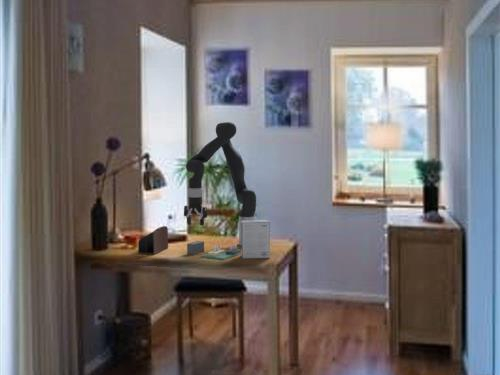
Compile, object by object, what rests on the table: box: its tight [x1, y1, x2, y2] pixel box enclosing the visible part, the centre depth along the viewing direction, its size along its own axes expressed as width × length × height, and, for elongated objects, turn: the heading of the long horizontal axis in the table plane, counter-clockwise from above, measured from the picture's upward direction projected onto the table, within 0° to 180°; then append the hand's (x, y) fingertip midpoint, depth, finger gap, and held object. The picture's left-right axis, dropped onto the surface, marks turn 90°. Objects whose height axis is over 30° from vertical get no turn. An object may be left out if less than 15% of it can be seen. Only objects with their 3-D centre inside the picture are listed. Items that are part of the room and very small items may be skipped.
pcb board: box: [201, 243, 242, 261], centre depth 367 cm, size 18×14×6 cm
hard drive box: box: [241, 219, 271, 259], centre depth 362 cm, size 16×8×20 cm, turn 92°
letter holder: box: [137, 225, 169, 256], centre depth 377 cm, size 10×20×14 cm, turn 164°
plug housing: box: [186, 240, 205, 256], centre depth 373 cm, size 10×5×6 cm, turn 150°
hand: (195, 224), depth 372 cm, fingers open, 8 cm apart
